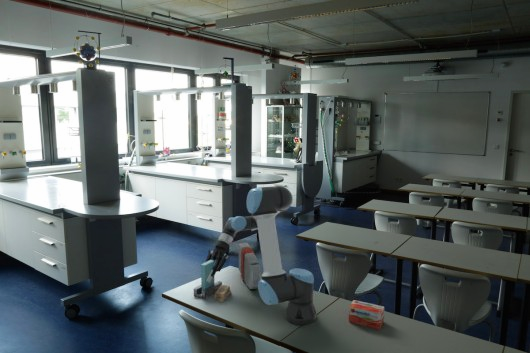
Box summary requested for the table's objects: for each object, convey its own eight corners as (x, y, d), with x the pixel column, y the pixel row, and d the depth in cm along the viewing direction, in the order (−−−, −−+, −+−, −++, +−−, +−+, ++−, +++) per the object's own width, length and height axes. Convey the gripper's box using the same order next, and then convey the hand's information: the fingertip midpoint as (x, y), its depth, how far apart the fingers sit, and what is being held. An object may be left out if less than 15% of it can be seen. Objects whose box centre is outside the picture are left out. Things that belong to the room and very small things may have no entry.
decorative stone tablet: (237, 242, 241) (250, 264, 213) (248, 241, 243) (262, 263, 215) (237, 271, 246) (250, 297, 218) (247, 270, 247) (261, 295, 220)
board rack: (222, 288, 224) (221, 281, 223) (204, 299, 212) (204, 292, 211) (211, 285, 228) (211, 278, 227) (193, 295, 215) (193, 288, 215)
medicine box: (383, 321, 191) (384, 306, 190) (380, 330, 184) (381, 313, 182) (352, 314, 197) (353, 299, 196) (348, 322, 190) (348, 306, 189)
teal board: (214, 289, 222) (214, 260, 220) (205, 295, 216) (204, 265, 213) (211, 288, 224) (210, 259, 221) (201, 294, 217) (201, 264, 214)
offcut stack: (231, 293, 219) (231, 286, 218) (222, 302, 209) (222, 294, 208) (222, 292, 221) (222, 284, 220) (213, 301, 210) (213, 293, 210)
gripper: (237, 248, 227) (220, 287, 216) (216, 243, 235) (197, 280, 224) (232, 242, 222) (213, 281, 210) (210, 237, 229) (191, 275, 218)
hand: (205, 281), depth 217 cm, fingers closed on teal board, 2 cm apart
